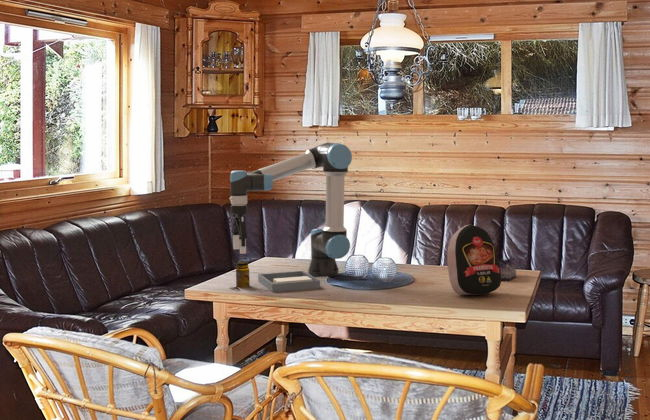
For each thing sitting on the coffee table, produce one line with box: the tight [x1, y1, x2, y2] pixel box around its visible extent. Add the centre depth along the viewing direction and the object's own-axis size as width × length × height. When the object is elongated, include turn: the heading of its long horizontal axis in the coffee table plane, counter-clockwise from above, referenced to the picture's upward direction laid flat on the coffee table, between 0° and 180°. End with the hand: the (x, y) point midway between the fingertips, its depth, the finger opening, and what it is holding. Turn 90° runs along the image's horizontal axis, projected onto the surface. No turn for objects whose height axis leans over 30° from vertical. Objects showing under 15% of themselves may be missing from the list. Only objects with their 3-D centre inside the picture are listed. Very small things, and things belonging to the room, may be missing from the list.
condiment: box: [230, 261, 251, 292], centre depth 400 cm, size 7×8×12 cm
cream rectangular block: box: [273, 276, 312, 284], centre depth 395 cm, size 16×8×4 cm, turn 108°
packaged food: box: [446, 224, 502, 296], centre depth 379 cm, size 22×20×30 cm
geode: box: [499, 257, 517, 281], centre depth 416 cm, size 20×12×10 cm, turn 152°
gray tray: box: [257, 270, 321, 293], centre depth 402 cm, size 22×26×4 cm
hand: (239, 251), depth 399 cm, fingers open, 13 cm apart
